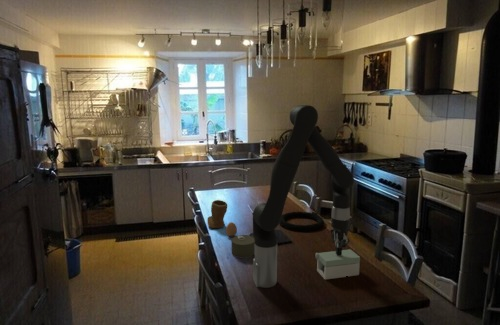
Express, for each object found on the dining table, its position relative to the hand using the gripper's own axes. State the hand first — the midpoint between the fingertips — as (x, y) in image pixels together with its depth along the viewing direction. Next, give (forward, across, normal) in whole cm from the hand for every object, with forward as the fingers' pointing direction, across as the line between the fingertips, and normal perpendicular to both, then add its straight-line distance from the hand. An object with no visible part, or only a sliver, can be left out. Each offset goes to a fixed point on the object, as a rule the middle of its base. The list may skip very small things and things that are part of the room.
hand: (338, 254), depth 153 cm
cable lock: (+9, -62, +9) cm, 63 cm away
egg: (+9, -52, -37) cm, 64 cm away
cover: (+3, 0, 0) cm, 3 cm away
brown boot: (+9, -71, -42) cm, 83 cm away
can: (+9, -30, -35) cm, 47 cm away
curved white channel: (+8, 0, 0) cm, 8 cm away
